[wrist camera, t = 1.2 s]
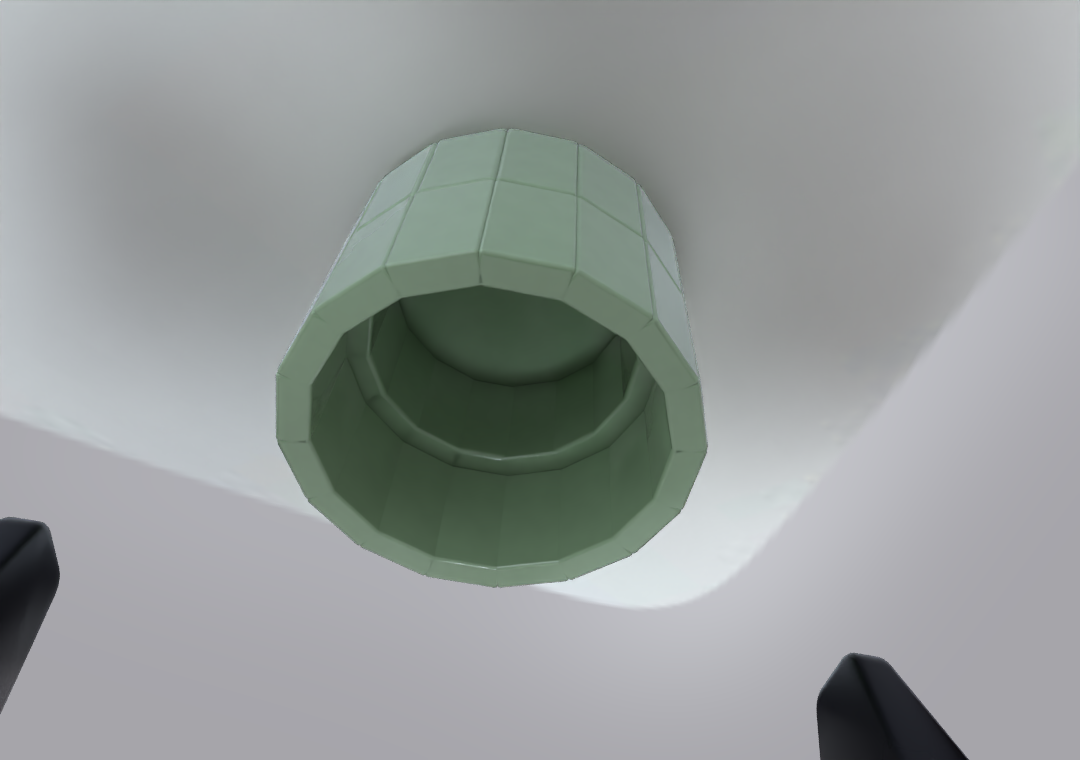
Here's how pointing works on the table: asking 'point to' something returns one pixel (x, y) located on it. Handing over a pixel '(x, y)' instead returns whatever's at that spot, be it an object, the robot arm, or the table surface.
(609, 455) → the cup
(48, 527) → the robot arm
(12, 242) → the table surface
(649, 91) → the table surface
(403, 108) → the table surface
